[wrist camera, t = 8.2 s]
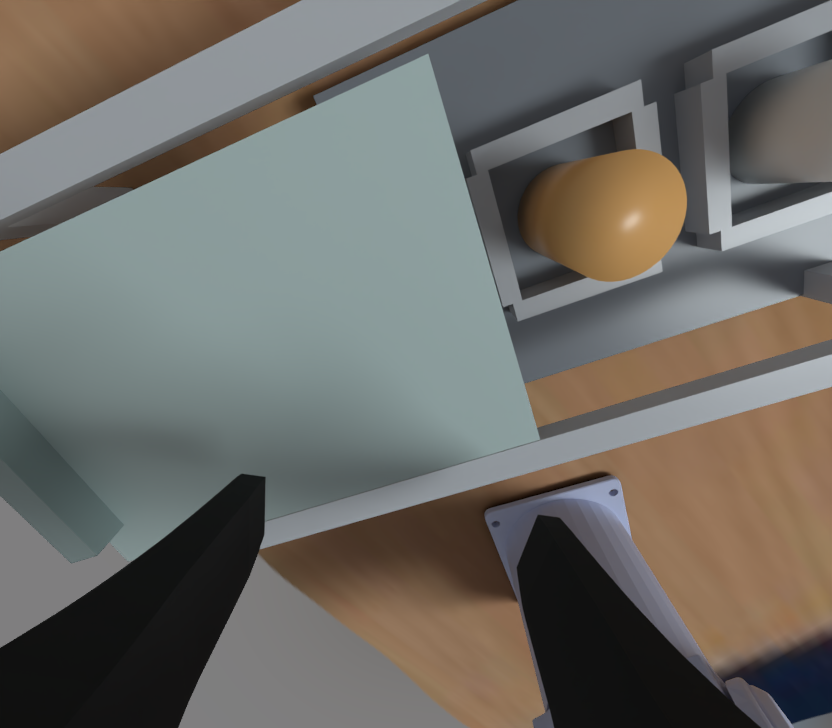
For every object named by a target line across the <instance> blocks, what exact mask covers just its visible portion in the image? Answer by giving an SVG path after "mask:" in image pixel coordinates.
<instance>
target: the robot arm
mask: <svg viewBox="0 0 832 728" xmlns="http://www.w3.org/2000/svg"><path fill="white" fill-rule="evenodd" d="M265 483H266V477H263V476H256V475H249V474H240V475H238V476H237V477H236V478H235V479H233V480H232V481H231V482H230V483H229V484H228V485H227V486H225V487H224V488H223V489H222V490H221V491H220V492H219V493H217V494H216V495H215V496H214V497H213V498H212V499H210V500H209V501H208V502H207V503H206V504H204V505H203V506H202V507H201V508H200V509H199V510H197V511H196V512H195V513H194V514H193V515H191V516H190V517H189V518H188V519H186V520H185V521H184V522H183V523H181V524H180V525H179V526H178V527H176V528H175V529H174V530H173V531H172V532H170V533H169V534H168V535H167V536H165V537H164V538H163V539H161V540H160V541H159V542H158V543H156V544H155V545H154V546H152V547H151V548H150V549H148V550H147V551H146V552H144V553H143V554H142V555H140V556H139V557H137V558H136V559H135V560H133V561H132V562H131V563H130V564H128V565H127V566H126V567H124V568H123V569H121V570H120V571H119V572H117V573H116V574H114V575H113V576H112V577H110V578H109V579H107V580H106V581H104V582H103V583H101V584H100V585H99V586H97V587H96V588H94V589H93V590H91V591H90V592H88V593H87V594H85V595H84V596H82V597H81V598H79V599H78V600H76V601H75V602H73V603H72V604H70V605H69V606H67V607H66V608H64V609H63V610H61V611H59V612H58V613H56V614H55V615H53V616H51V617H50V618H48V619H47V620H45V621H43V622H42V623H40V624H39V625H37V626H36V627H34V628H32V629H30V630H29V631H27V632H26V633H24V634H22V635H21V636H19V637H17V638H16V639H14V640H13V641H11V642H9V643H8V644H6V645H4V646H3V647H1V648H0V728H178V727H179V724H180V722H181V719H182V716H183V714H184V712H185V709H186V707H187V704H188V702H189V700H190V697H191V695H192V693H193V691H194V689H195V687H196V684H197V682H198V680H199V678H200V676H201V674H202V672H203V669H204V668H205V666H206V663H207V661H208V659H209V657H210V655H211V653H212V651H213V649H214V647H215V645H216V643H217V641H218V639H219V637H220V635H221V633H222V631H223V629H224V627H225V625H226V623H227V621H228V619H229V617H230V615H231V613H232V611H233V609H234V607H235V605H236V603H237V601H238V598H239V596H240V594H241V592H242V590H243V588H244V586H245V584H246V582H247V580H248V578H249V576H250V573H251V570H252V568H253V565H254V563H255V560H256V557H257V554H258V552H259V549H260V546H261V543H262V541H263V538H264V531H265ZM613 489H614V490H613ZM611 490H613V491H611ZM484 515H485V520H486V523H487V525H488V528H489V530H490V533H491V535H492V538H493V540H494V543H495V545H496V548H497V550H498V553H499V555H500V558H501V560H502V563H503V565H504V568H505V570H506V573H507V575H508V578H509V580H510V583H511V585H512V588H513V590H514V593H515V595H516V598H517V600H518V604H519V608H520V612H521V616H522V620H523V624H524V628H525V632H526V636H527V640H528V644H529V648H530V652H531V656H532V660H533V664H534V668H535V672H536V676H537V680H538V684H539V688H540V692H541V696H542V700H543V704H544V708H545V713H544V714H542V715H541V716H539V717H537V718H535V719H533V726H534V728H794V727H793V725H792V724H791V723H790V721H789V720H788V718H787V717H786V716H785V714H784V713H783V712H782V710H781V709H780V708H779V706H778V705H777V704H776V702H775V701H774V700H773V699H772V697H771V696H770V695H769V694H768V693H767V692H765V691H763V690H761V689H759V688H757V687H755V686H752V685H750V686H749V685H748V684H747V683H746V682H745V681H744V680H743V679H741V678H734V679H731V680H728V681H726V682H725V683H726V685H725V683H724V682H723V681H722V680H721V679H720V678H719V676H718V675H717V674H716V673H715V672H714V670H713V669H712V667H711V666H710V664H709V662H708V661H707V659H706V657H705V656H704V654H703V653H702V651H701V649H700V648H699V646H698V645H697V643H696V641H695V640H694V638H693V637H692V635H691V633H690V632H689V630H688V629H687V627H686V625H685V624H684V622H683V621H682V619H681V617H680V616H679V614H678V613H677V611H676V609H675V608H674V606H673V605H672V603H671V601H670V600H669V598H668V597H667V595H666V593H665V592H664V590H663V589H662V587H661V585H660V584H659V582H658V581H657V579H656V577H655V576H654V574H653V573H652V571H651V569H650V568H649V566H648V565H647V563H646V561H645V560H644V558H643V557H642V555H641V553H640V552H639V550H638V549H637V547H636V545H635V544H634V542H633V541H632V537H631V532H630V527H629V522H628V517H627V512H626V507H625V502H624V497H623V492H622V487H621V483H620V481H619V480H618V478H617V477H616V476H613V475H610V476H605V477H602V478H598V479H594V480H591V481H587V482H583V483H580V484H576V485H572V486H569V487H565V488H562V489H558V490H554V491H551V492H547V493H543V494H540V495H536V496H532V497H529V498H525V499H522V500H518V501H514V502H511V503H507V504H503V505H500V506H496V507H492V508H489V509H487V510H486V511H485V513H484ZM494 521H497V522H494Z"/></svg>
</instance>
